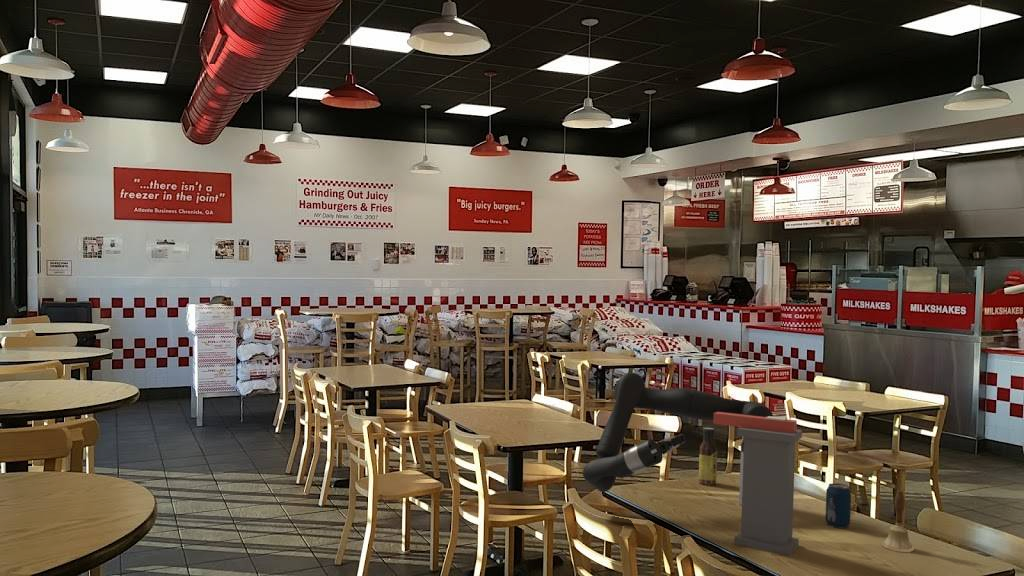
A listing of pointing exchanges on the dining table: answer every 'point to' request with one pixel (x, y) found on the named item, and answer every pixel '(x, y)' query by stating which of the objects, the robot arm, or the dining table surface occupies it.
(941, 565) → the dining table surface
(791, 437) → the pedestal
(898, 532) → the hand bell
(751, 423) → the red bar
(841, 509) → the soda can
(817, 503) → the dining table surface
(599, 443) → the robot arm
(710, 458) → the sauce bottle
